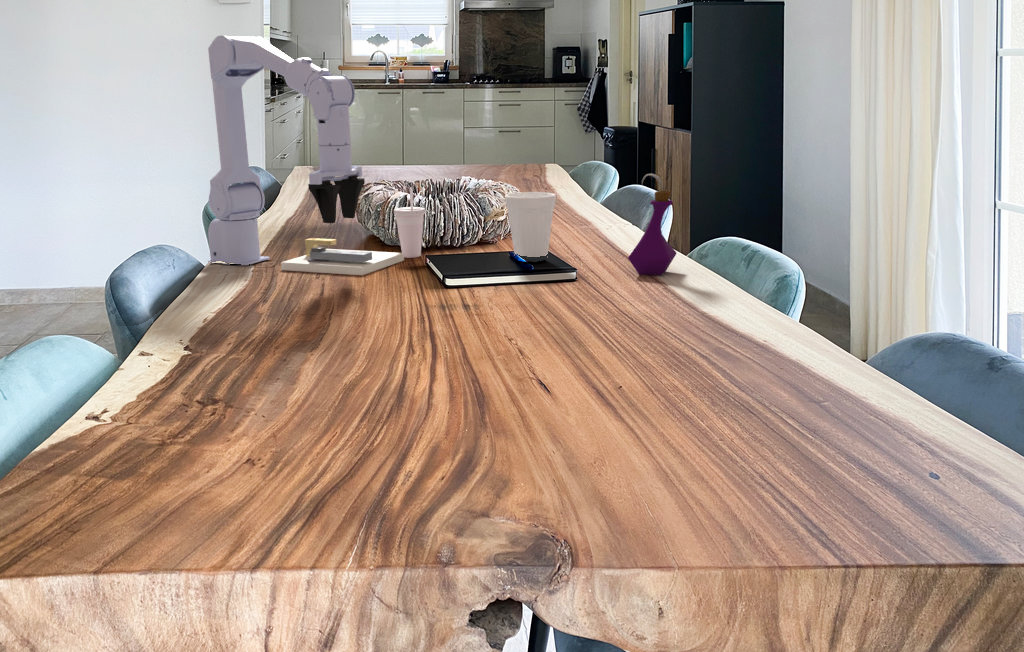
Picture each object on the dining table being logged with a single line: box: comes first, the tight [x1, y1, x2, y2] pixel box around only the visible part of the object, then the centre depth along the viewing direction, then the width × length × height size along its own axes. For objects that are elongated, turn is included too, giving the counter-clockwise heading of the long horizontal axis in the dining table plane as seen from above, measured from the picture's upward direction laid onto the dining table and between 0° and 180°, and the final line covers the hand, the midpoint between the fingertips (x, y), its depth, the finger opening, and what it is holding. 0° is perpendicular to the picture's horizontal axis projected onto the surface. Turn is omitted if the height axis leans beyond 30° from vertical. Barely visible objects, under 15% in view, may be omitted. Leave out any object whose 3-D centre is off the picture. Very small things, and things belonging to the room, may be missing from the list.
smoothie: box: [393, 186, 426, 259], centre depth 205 cm, size 6×6×14 cm
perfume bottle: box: [627, 173, 677, 276], centre depth 182 cm, size 8×8×18 cm
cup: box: [504, 191, 557, 257], centre depth 196 cm, size 10×10×13 cm
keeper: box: [304, 237, 338, 256], centre depth 199 cm, size 6×2×3 cm, turn 67°
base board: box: [280, 248, 405, 276], centre depth 198 cm, size 18×16×2 cm
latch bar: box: [310, 246, 372, 262], centre depth 193 cm, size 12×3×2 cm, turn 67°
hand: (339, 220), depth 184 cm, fingers open, 6 cm apart
